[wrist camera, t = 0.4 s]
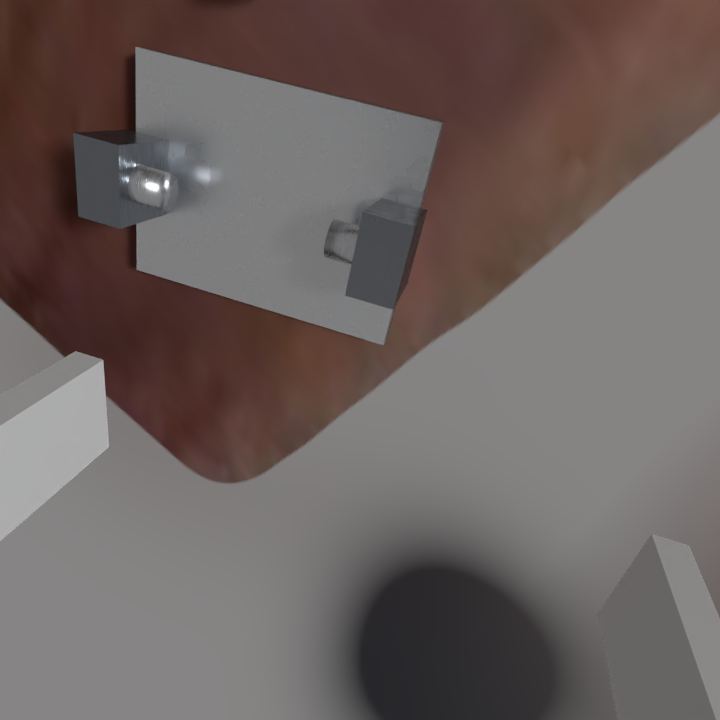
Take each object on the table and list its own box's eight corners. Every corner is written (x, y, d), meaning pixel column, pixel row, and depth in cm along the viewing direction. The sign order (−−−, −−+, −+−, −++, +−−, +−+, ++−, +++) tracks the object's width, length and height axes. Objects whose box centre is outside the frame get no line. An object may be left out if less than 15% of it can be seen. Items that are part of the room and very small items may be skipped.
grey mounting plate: (146, 261, 41) (82, 288, 35) (147, 48, 34) (67, 34, 28) (395, 336, 39) (374, 380, 32) (453, 124, 31) (441, 127, 25)
